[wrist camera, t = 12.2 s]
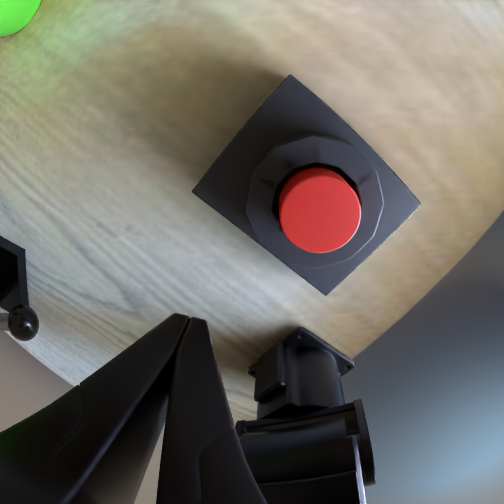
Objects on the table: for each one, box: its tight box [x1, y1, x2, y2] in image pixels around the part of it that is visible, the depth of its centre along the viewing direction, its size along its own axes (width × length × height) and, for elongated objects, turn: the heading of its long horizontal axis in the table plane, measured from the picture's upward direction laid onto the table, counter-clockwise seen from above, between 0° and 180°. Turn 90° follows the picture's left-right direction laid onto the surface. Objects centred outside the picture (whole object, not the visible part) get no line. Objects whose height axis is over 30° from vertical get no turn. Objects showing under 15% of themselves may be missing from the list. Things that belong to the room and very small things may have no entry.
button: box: [279, 167, 361, 253], centre depth 14 cm, size 4×4×2 cm
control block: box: [192, 75, 421, 296], centre depth 16 cm, size 10×8×4 cm
